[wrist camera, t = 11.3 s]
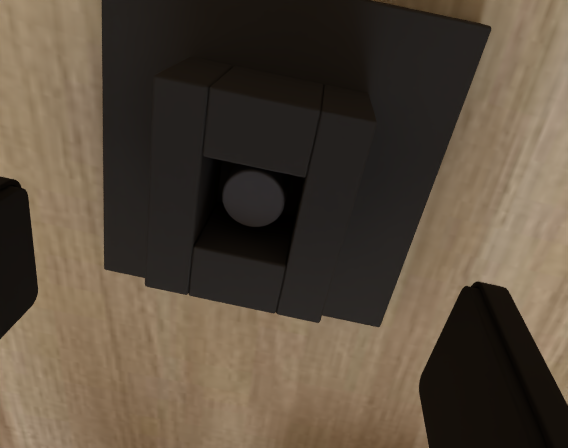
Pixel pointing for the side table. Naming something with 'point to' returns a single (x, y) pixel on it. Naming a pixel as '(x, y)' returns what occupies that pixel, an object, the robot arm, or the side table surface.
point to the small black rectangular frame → (261, 154)
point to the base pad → (307, 66)
